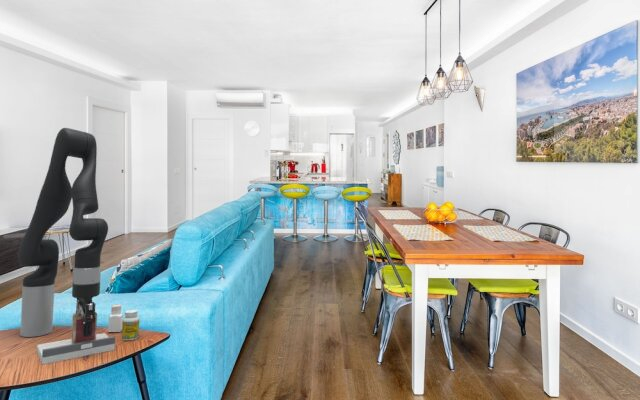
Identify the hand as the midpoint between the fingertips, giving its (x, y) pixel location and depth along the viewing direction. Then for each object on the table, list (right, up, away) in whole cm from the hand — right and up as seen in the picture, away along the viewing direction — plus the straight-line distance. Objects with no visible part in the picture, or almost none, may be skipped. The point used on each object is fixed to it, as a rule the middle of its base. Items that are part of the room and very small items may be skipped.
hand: (84, 332), depth 121 cm
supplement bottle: (+8, -7, +13) cm, 17 cm away
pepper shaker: (-1, -7, +20) cm, 21 cm away
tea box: (0, -4, 0) cm, 4 cm away
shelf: (-3, -6, +1) cm, 7 cm away
